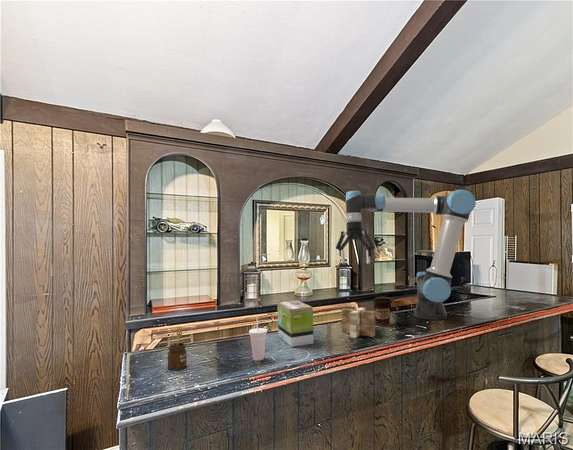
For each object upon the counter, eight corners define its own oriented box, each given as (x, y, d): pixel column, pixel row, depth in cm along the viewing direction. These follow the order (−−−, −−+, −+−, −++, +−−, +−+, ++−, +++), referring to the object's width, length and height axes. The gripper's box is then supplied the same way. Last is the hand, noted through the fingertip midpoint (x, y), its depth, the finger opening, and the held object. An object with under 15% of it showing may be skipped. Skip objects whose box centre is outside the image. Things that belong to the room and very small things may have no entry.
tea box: (277, 337, 135) (276, 301, 136) (298, 334, 139) (298, 299, 140) (291, 347, 122) (290, 308, 122) (314, 343, 125) (313, 305, 126)
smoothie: (262, 354, 115) (261, 314, 116) (271, 359, 109) (270, 318, 110) (246, 357, 111) (245, 317, 112) (254, 363, 106) (253, 320, 107)
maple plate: (361, 329, 144) (360, 307, 144) (366, 330, 142) (365, 307, 143) (350, 337, 133) (349, 312, 133) (355, 338, 131) (355, 313, 132)
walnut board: (375, 335, 135) (374, 311, 135) (373, 336, 133) (372, 312, 133) (344, 330, 142) (343, 308, 143) (342, 332, 140) (341, 309, 141)
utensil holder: (165, 370, 102) (165, 332, 102) (171, 363, 108) (171, 327, 109) (183, 369, 102) (183, 331, 103) (188, 362, 108) (188, 326, 109)
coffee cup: (393, 328, 145) (392, 299, 146) (374, 327, 147) (373, 298, 148) (391, 323, 154) (390, 295, 155) (373, 322, 156) (372, 295, 156)
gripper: (328, 222, 167) (329, 263, 166) (375, 219, 153) (377, 264, 152) (334, 223, 173) (336, 262, 172) (380, 220, 160) (382, 263, 159)
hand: (355, 263), depth 162 cm, fingers open, 13 cm apart
